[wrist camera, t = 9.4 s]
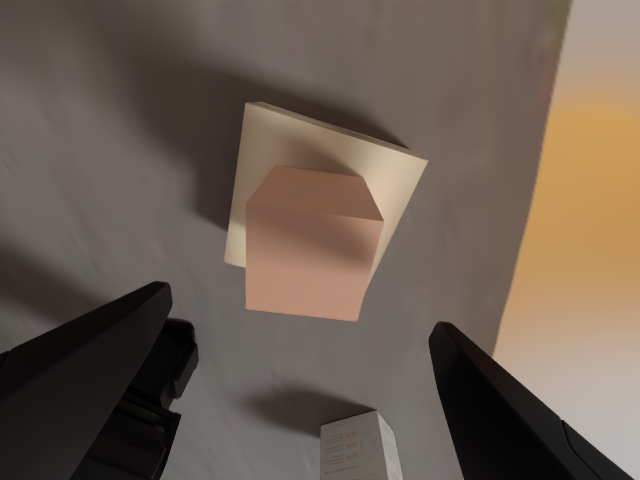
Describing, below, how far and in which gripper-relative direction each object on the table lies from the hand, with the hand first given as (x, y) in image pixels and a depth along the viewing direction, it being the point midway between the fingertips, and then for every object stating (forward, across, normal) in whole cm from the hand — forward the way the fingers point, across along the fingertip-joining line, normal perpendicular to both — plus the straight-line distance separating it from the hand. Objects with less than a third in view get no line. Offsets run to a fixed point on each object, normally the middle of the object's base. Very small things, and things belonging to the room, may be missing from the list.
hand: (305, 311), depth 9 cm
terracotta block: (+8, 0, 0) cm, 8 cm away
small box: (+12, -10, +30) cm, 34 cm away
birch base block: (+12, 0, 0) cm, 12 cm away
